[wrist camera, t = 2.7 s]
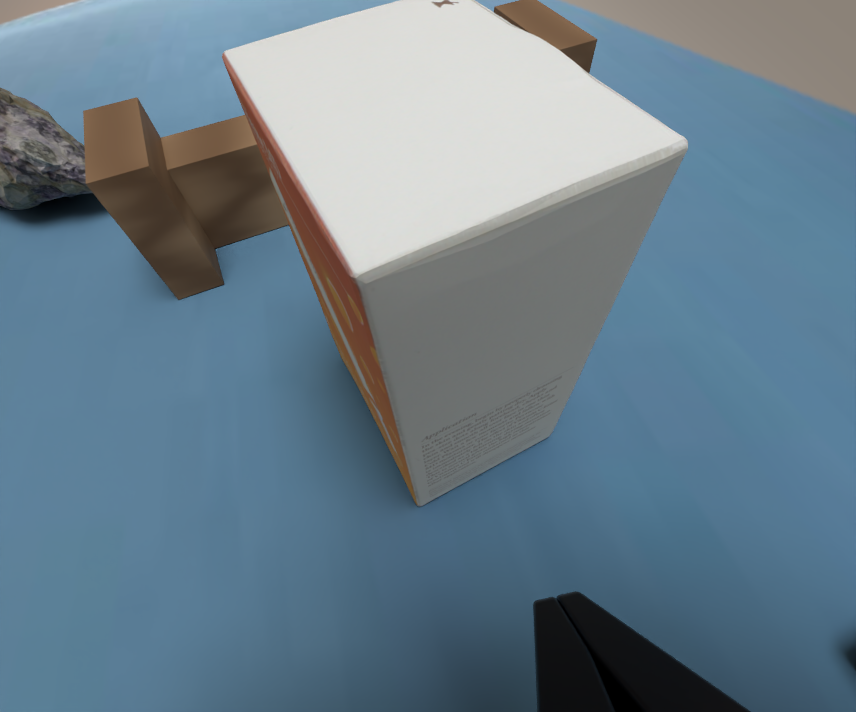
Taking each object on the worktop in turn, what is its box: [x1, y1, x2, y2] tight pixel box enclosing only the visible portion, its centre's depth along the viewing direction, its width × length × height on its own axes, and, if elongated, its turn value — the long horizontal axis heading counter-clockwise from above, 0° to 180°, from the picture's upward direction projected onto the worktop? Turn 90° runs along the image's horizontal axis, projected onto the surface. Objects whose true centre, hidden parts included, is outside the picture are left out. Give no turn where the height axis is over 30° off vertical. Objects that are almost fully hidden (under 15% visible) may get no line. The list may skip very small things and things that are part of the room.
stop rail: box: [83, 0, 597, 300], centre depth 24 cm, size 24×6×7 cm, turn 114°
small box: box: [222, 0, 688, 506], centre depth 14 cm, size 8×6×13 cm
